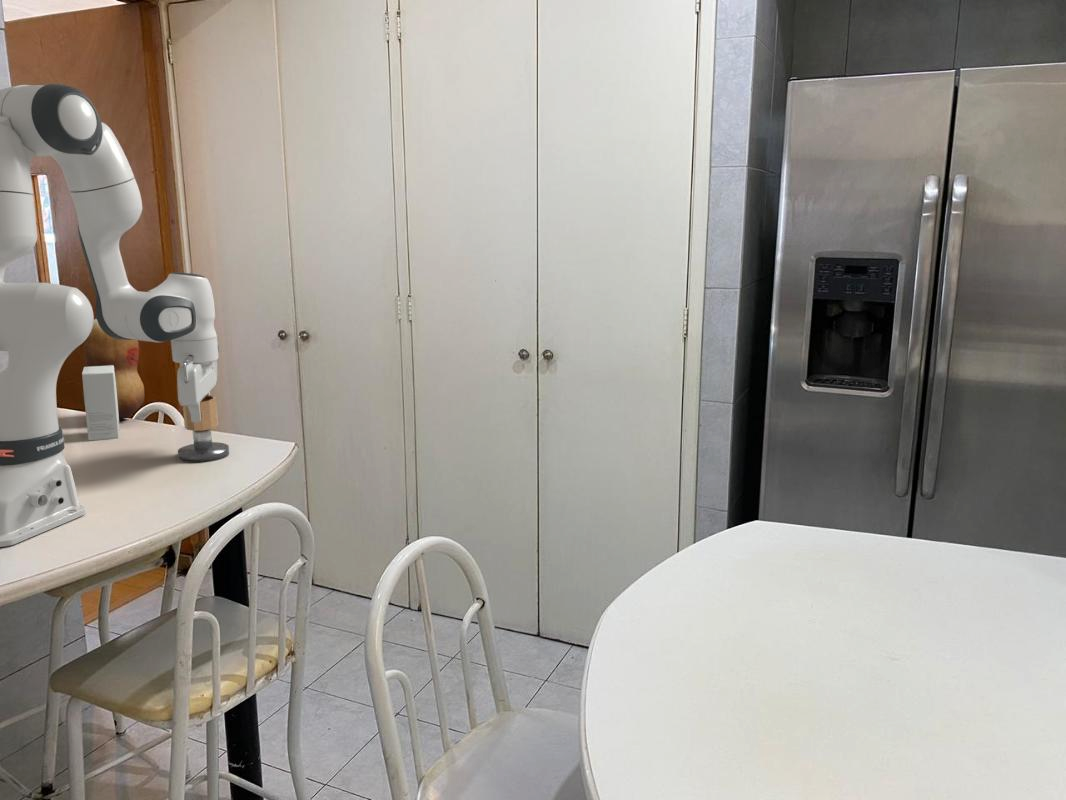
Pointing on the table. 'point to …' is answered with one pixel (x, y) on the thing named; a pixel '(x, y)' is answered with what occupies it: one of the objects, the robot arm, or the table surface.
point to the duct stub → (203, 448)
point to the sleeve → (203, 415)
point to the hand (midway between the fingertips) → (200, 416)
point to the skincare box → (101, 402)
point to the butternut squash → (117, 367)
